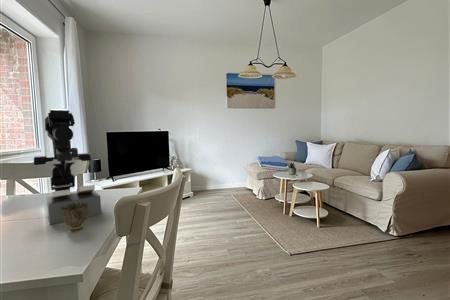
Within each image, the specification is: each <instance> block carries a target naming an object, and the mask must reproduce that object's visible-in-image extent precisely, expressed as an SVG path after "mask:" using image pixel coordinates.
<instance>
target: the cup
mask: <svg viewBox="0 0 450 300" xmlns="http://www.w3.org/2000/svg"><path fill="white" fill-rule="evenodd" d="M61 210H62V215H63V219H64V222H63V223H64V224H65V225H66V226H67V227H69V230H70V231H71V232H77V231H81V230H82V229H83V228H84V225H83V224H85V223H86V221H87V220H88V217H87V216H88V203H87V204H86V202H85V203H83V202H82V203H81V205H80V202H79V203H78V204H76V203H72V204H71V205H70V204H67V207H65V208H64V206H62V207H61Z"/></svg>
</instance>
